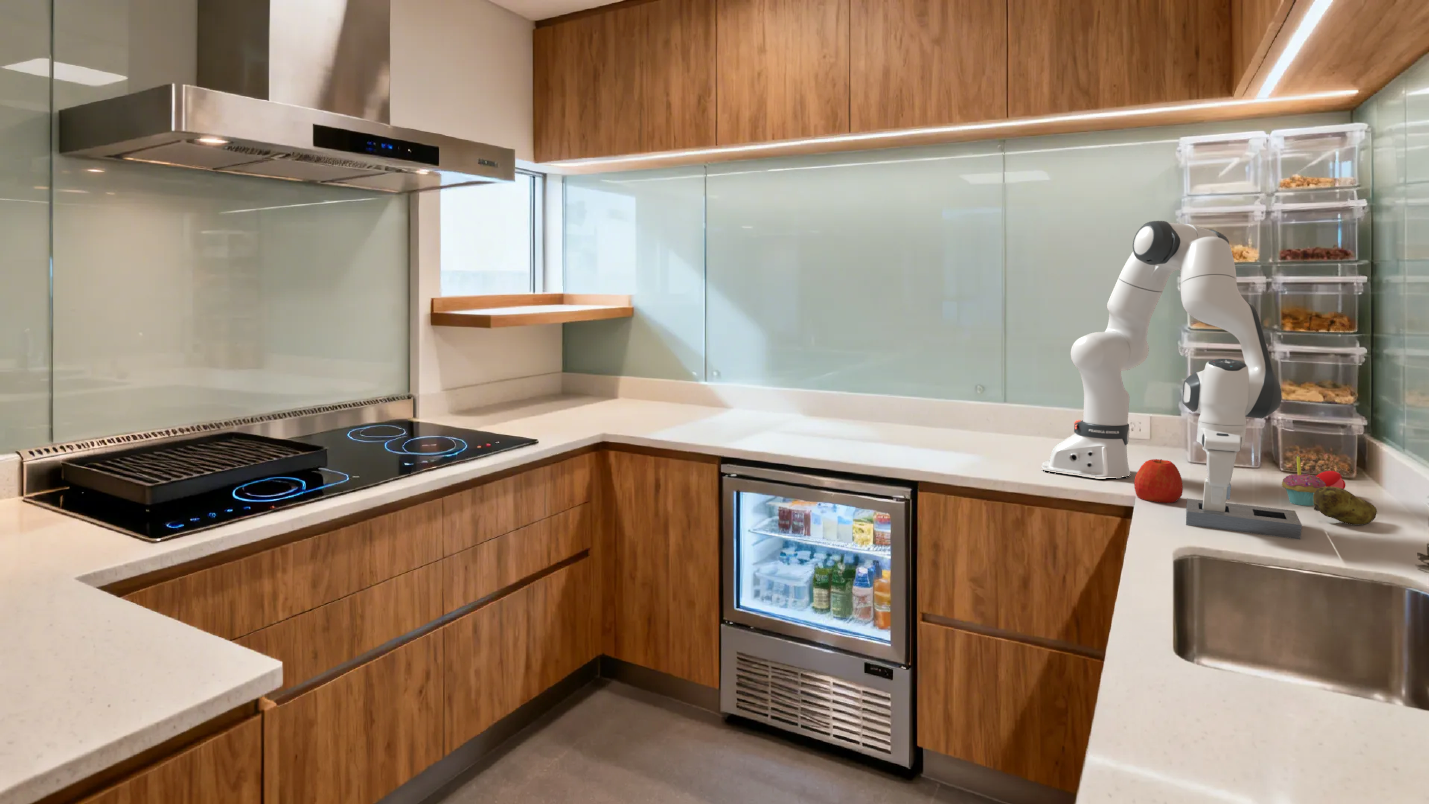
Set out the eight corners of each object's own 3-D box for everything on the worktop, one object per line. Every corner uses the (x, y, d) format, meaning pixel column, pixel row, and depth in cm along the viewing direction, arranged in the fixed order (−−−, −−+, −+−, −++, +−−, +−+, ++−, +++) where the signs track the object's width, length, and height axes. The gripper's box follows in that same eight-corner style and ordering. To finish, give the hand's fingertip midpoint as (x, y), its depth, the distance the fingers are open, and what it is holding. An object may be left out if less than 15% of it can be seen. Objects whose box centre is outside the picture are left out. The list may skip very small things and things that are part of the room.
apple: (1140, 505, 190) (1144, 462, 188) (1126, 494, 200) (1130, 453, 198) (1188, 508, 188) (1192, 464, 186) (1171, 496, 198) (1175, 454, 196)
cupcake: (1291, 507, 188) (1296, 457, 187) (1272, 497, 197) (1277, 449, 195) (1332, 508, 187) (1338, 458, 185) (1311, 499, 195) (1316, 450, 194)
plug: (1201, 522, 175) (1205, 481, 173) (1201, 517, 178) (1205, 477, 177) (1227, 525, 172) (1231, 484, 171) (1226, 520, 176) (1230, 480, 174)
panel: (1185, 527, 173) (1187, 511, 172) (1185, 513, 183) (1186, 498, 183) (1300, 542, 163) (1301, 525, 162) (1293, 526, 173) (1294, 510, 173)
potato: (1389, 530, 170) (1393, 494, 169) (1318, 526, 174) (1322, 490, 173) (1369, 519, 178) (1373, 484, 177) (1301, 515, 182) (1305, 481, 181)
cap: (1330, 478, 203) (1310, 466, 203) (1352, 475, 197) (1331, 463, 197) (1320, 505, 201) (1300, 493, 201) (1341, 504, 195) (1321, 491, 195)
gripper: (1202, 426, 183) (1197, 486, 185) (1204, 442, 166) (1199, 507, 168) (1235, 429, 180) (1229, 489, 182) (1241, 445, 162) (1235, 511, 164)
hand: (1215, 498), depth 175 cm, fingers open, 8 cm apart
